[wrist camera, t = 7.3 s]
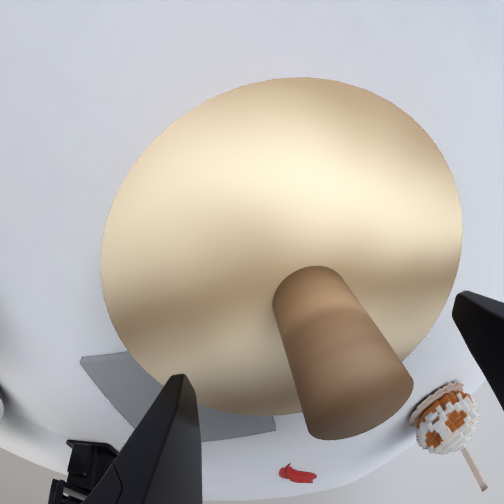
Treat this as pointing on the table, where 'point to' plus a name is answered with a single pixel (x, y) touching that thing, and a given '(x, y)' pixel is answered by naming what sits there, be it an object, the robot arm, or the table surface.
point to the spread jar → (1, 407)
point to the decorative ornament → (448, 423)
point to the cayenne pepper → (297, 475)
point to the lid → (285, 252)
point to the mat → (147, 389)
